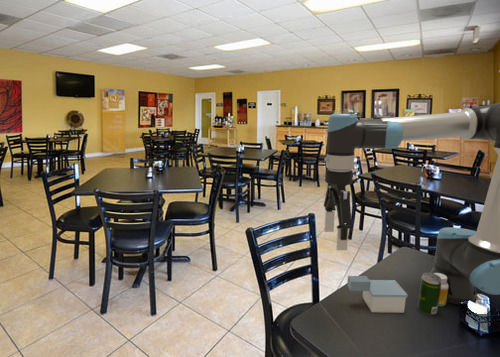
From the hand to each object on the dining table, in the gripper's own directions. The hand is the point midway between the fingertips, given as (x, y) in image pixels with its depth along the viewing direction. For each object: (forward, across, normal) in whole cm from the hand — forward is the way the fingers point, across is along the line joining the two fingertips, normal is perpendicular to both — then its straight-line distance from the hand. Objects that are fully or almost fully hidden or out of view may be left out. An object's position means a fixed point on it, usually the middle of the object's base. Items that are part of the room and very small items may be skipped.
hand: (334, 240), depth 93 cm
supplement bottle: (+25, -5, +36) cm, 44 cm away
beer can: (+24, 0, +31) cm, 39 cm away
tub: (+24, -3, +18) cm, 30 cm away
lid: (+18, -3, +15) cm, 24 cm away
